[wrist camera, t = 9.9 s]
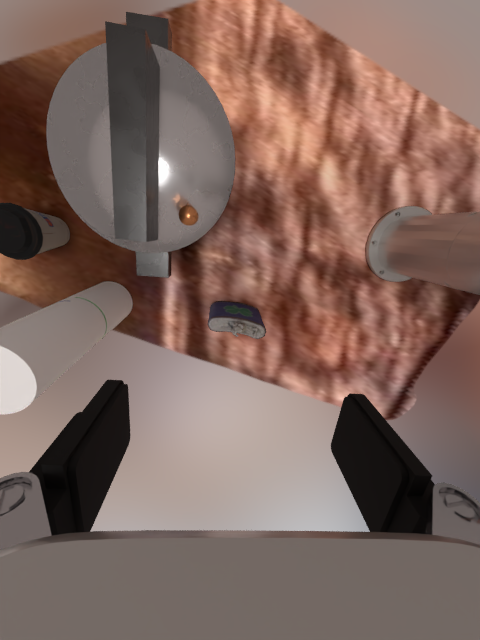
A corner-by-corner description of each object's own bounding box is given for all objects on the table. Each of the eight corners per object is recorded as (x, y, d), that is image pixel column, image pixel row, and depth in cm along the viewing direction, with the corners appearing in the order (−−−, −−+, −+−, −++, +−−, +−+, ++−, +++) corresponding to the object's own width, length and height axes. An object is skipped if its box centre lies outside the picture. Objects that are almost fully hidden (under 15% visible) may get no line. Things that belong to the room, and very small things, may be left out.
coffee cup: (70, 261, 42) (27, 270, 33) (26, 241, 41) (-32, 244, 32) (83, 221, 41) (41, 219, 31) (37, 199, 39) (-21, 189, 30)
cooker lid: (42, 30, 24) (-14, -32, 18) (244, 68, 26) (250, 23, 20) (64, 242, 30) (28, 245, 25) (226, 260, 32) (226, 267, 26)
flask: (209, 312, 47) (205, 335, 37) (211, 297, 46) (209, 316, 36) (257, 321, 48) (267, 345, 38) (261, 306, 47) (271, 327, 37)
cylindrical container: (85, 283, 44) (-74, 347, 20) (126, 279, 44) (17, 336, 21) (97, 322, 46) (-32, 419, 23) (136, 317, 46) (48, 408, 23)
